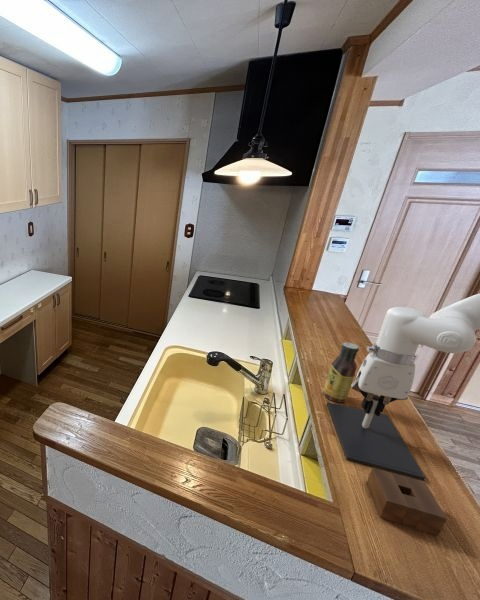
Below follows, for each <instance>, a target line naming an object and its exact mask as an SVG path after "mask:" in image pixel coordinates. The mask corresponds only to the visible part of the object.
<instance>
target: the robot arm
mask: <svg viewBox="0 0 480 600" xmlns="http://www.w3.org/2000/svg"><path fill="white" fill-rule="evenodd" d="M478 330H480V292H479V293H476V294H474V295H471V296H469V297H468V296H467V297H465V298H463V299H461V300H459V301H456V302H454V303H451V304H449V305H447V306H445V307H442V308H441V309H438V310H436V311H435V312H433V313H432V314H430V315H428V314H427V313H425V312H424V311H421V310H419V309H416V308H412V307H406V306H392V307H391V308H389V309H388V310H387V311H386V314H385V315H384V319H383V321H382V325H381V328H380V331H379V333H378V335H377V339H376V341H375V343H374V344H373V345H367V346H366V350H367V352H369V353H368V354H367V356H366V357H365V358H364V359H363V361H362V363H361V364H360V367H359V369H358V371H357V372H356V377H355V380H353V382H352V384H351V387H350V388H351V389H352V390H354V391H356V392H358V393H360V395H362V396H363V400H362V402H361V408H362V410H364V411H365V413H367V414H370V411H371V409H372V406H373V401H372V400H373V399H372V398H373V395H378V396H380V400H379V402H378V405H377V407H376V410H375V412H374V413H375V415H376V416H380V414H382V413H384V410H385V407H386V406H387V405H389V404H390V403H393V402H395V401H406V400H408V399H409V396H410V393H411V390H412V387H413V384H414V379H415V373H416V364H415V363H414V362H413V360H414V358H415V356H416V353H417V350H418V347H419V345H421V346H425V347H428V348H430V349H432V350H436V351H439V352H441V353H446V354H462V353H466V352H468V351H469V350H471V349H472V348H473V347H474V346H475V344H476V341H477V337H476V333H475V332H476V331H478Z"/></svg>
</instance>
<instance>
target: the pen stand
mask: <svg viewBox="0 0 480 600" xmlns="http://www.w3.org/2000/svg"><path fill="white" fill-rule="evenodd" d="M365 483H366V487H367V490H368V491H369V494H370V496H371V499H372V501H373V504H374V507H375V508H376V511H377V514H378V517H379V518H381V519H383V520H386V521H390V522H393V523H396V524H400V525H402V526H406V527H407V528H408V527H409V528H412V529H415V530H418V531H420V532H424V533H427V534H431V535H434V536H437V537H438V536H439V534H440V533H441V531H442V529H443V528H444V526H445V523H446V522H447V520H448V518H447V516H446V514H445V513H444V511H443V510H442V507H441V506H440V504H439V503H438V501H437V500H436V498H435V496H434V494H433V492H432V491H431V490H430V488H429V486H428V484H427V483H426V481H425V480H424V481H423V480H419V479H416V478H412V477H408V476H405V475H401V474H397V473H393V472H390V471H386V470H382V469H379V468H375V467H372V468H371V470H370V472H369V475H368V478H367V480H366V482H365Z"/></svg>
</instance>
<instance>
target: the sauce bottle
mask: <svg viewBox="0 0 480 600" xmlns="http://www.w3.org/2000/svg"><path fill="white" fill-rule="evenodd" d="M359 349H360V346H359V345H358V344H355V343H353V342H347V341H346V342H343V343H342V344H341V350H340V353H339V355H337V357H335V359H334V360H333V361H332V362H331V364H330V368H329V371H328V374H327V377H326V381H325V384H324V386H323V396H324V397H325V398H326V399H327V400H329V401H332V402H336V403H344V402H345V401H346V400H347V398H348V396H349V393H350V391H351V388H352V387H351V384H352V383H353V382H354V379H355V375H356V371H357V368H358V367H357V366H358V365H357V362H356V356H357V353H358V352H359V351H360V350H359Z"/></svg>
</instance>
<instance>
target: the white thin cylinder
mask: <svg viewBox="0 0 480 600" xmlns="http://www.w3.org/2000/svg"><path fill="white" fill-rule="evenodd" d="M372 399H373V400H372V401H373V406H372V409H371V411H370V414H367V413H366V415H365V418H364V420H363V423H362V426H363V428H365V429H366V428H368V427H369V425H370V423H371V420H372V417H373V415H374V412H375V410H376V407H377V405H378V402H379V400H380V395H377V394H374V395H373V398H372Z"/></svg>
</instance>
